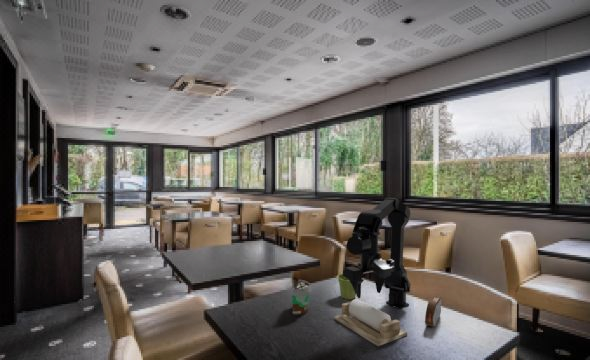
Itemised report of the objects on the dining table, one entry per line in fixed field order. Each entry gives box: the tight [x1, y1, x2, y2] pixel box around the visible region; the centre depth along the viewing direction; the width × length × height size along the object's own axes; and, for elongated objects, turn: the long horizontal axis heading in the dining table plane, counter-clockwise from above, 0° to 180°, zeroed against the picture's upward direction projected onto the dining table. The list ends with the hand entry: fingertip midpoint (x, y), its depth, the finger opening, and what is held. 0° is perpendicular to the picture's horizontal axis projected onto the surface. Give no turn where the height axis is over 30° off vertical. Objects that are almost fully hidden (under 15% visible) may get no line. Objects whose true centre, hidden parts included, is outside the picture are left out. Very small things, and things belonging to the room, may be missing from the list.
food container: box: [291, 279, 312, 317], centre depth 118 cm, size 12×6×10 cm, turn 168°
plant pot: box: [336, 273, 357, 300], centre depth 133 cm, size 9×9×9 cm
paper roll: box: [349, 298, 392, 332], centre depth 106 cm, size 14×6×6 cm, turn 31°
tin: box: [424, 294, 443, 328], centre depth 110 cm, size 15×3×8 cm, turn 145°
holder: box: [334, 300, 408, 347], centre depth 106 cm, size 13×21×5 cm, turn 31°
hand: (368, 295), depth 106 cm, fingers open, 9 cm apart
